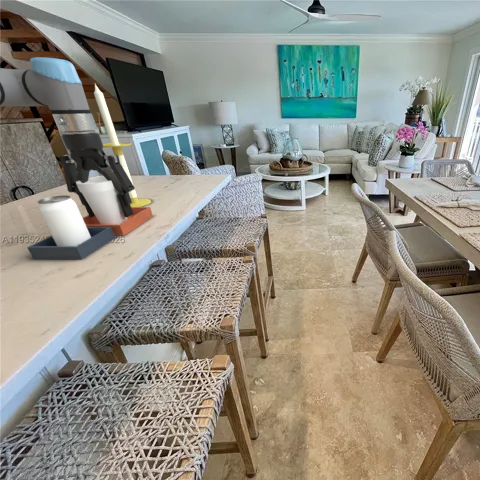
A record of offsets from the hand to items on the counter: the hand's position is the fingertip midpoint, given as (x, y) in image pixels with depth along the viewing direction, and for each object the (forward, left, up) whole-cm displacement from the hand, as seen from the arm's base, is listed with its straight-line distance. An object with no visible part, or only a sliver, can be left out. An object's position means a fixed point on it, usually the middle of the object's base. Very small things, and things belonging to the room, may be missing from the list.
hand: (111, 215), depth 77 cm
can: (0, -14, -3) cm, 14 cm away
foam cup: (0, 0, -3) cm, 3 cm away
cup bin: (0, 0, -3) cm, 3 cm away
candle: (-6, +19, -3) cm, 20 cm away
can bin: (0, -14, -3) cm, 14 cm away
